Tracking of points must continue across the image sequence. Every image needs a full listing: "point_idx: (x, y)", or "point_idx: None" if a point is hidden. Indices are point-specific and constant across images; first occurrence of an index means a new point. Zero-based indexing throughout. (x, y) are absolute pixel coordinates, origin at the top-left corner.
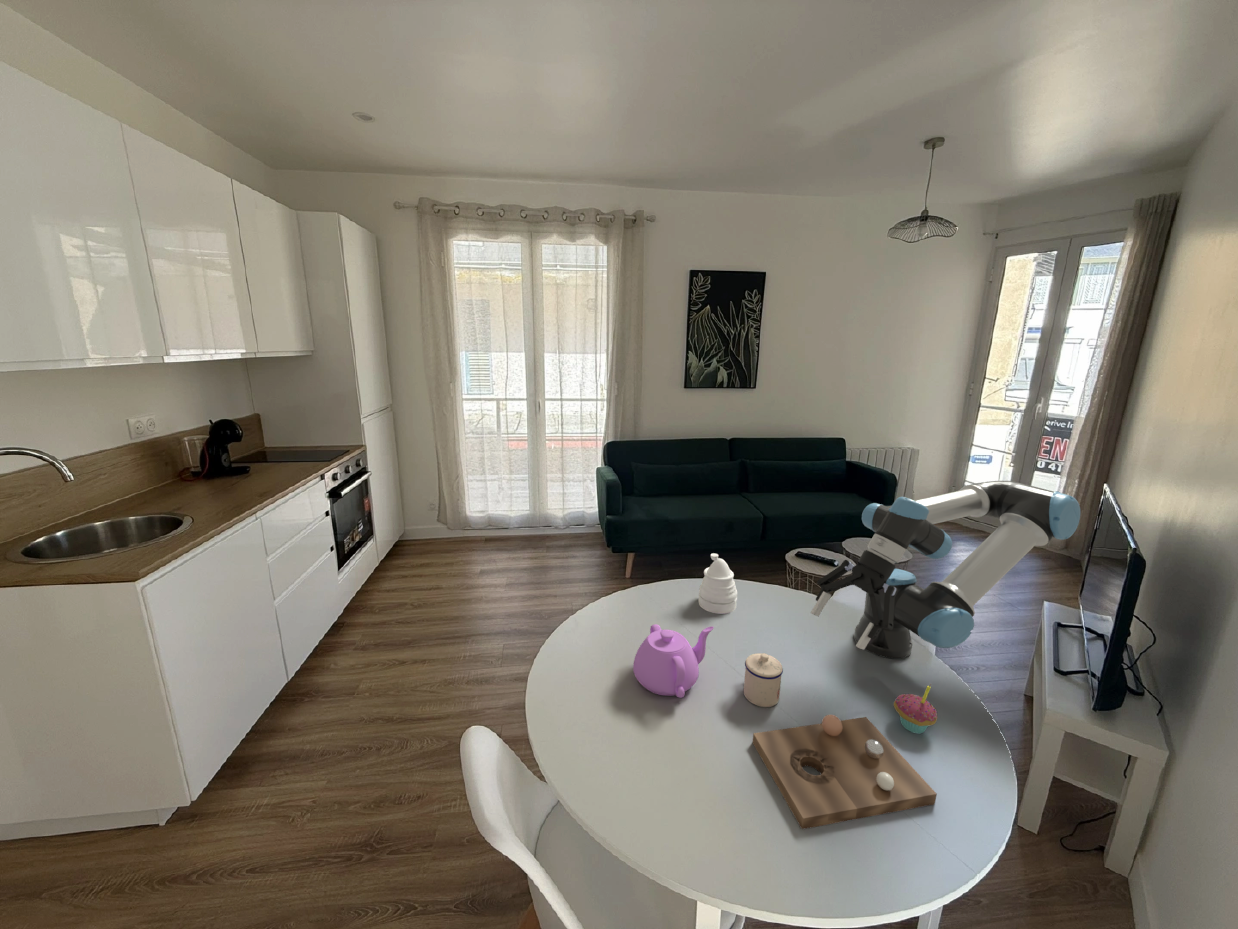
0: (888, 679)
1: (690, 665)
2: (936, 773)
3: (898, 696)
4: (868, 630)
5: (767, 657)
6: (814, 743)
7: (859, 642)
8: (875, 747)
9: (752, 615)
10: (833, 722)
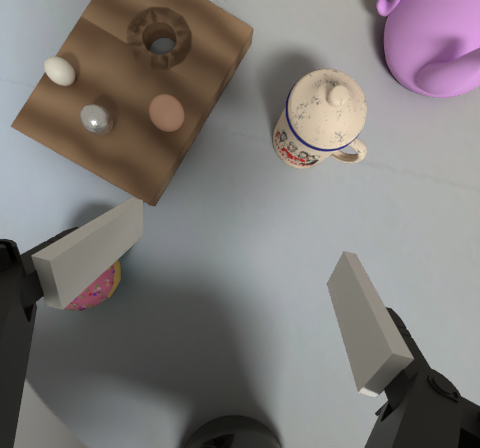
0: (176, 359)
1: (424, 9)
2: (43, 194)
3: (110, 277)
4: (72, 233)
5: (331, 92)
6: (178, 81)
7: (126, 206)
8: (86, 106)
9: (453, 341)
10: (157, 97)
